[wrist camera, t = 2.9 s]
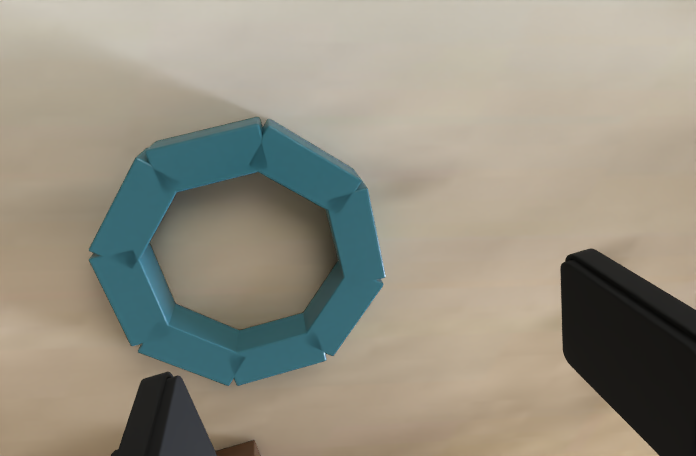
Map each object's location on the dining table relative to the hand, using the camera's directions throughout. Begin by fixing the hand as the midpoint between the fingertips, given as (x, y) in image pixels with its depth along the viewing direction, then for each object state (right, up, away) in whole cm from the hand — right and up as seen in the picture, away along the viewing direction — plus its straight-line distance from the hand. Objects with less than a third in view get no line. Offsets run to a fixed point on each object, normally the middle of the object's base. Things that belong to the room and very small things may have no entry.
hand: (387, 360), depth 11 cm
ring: (-5, +2, +8) cm, 9 cm away
